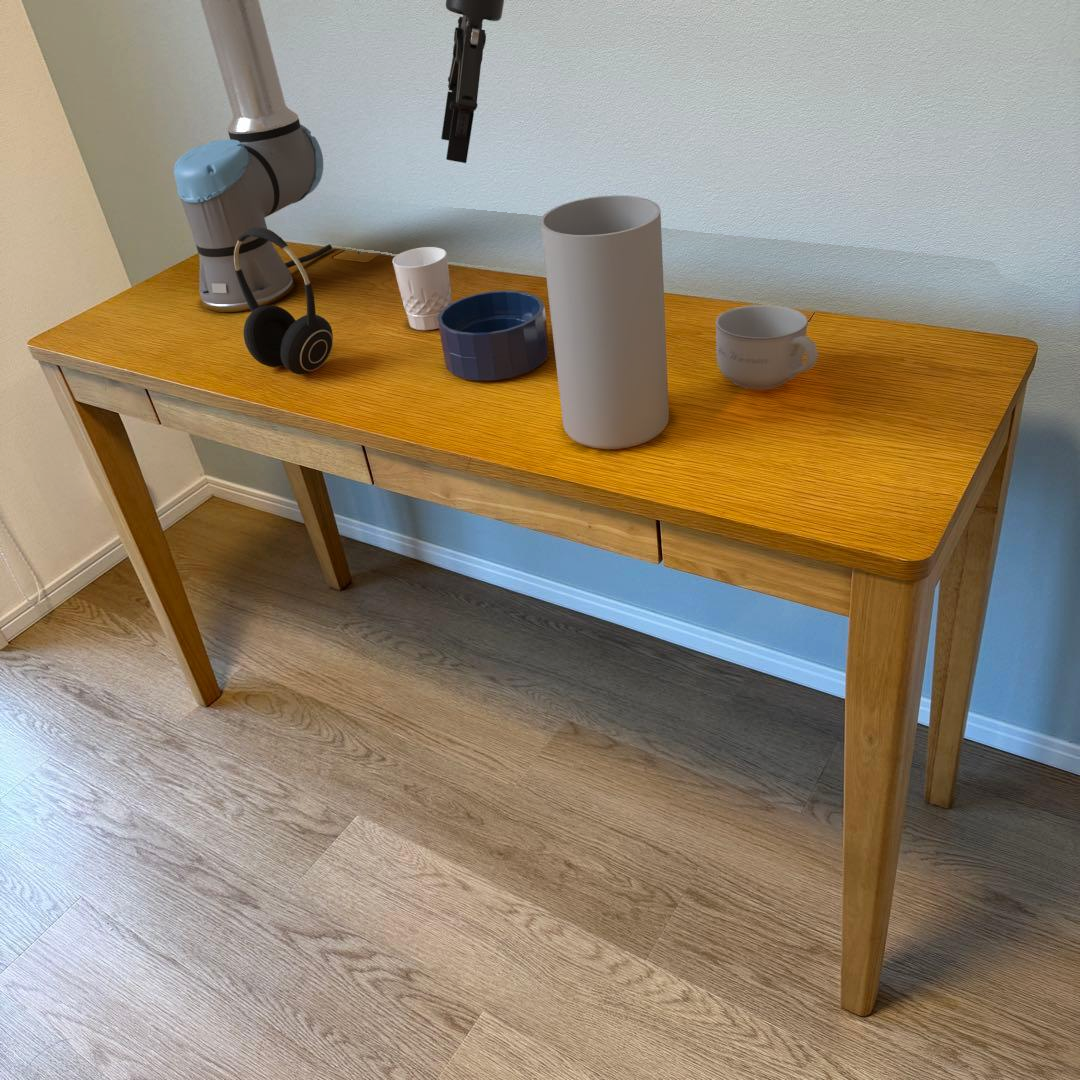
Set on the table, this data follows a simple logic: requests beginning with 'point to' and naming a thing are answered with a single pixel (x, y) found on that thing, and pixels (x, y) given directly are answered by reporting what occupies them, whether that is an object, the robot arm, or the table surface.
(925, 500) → the table surface
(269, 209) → the robot arm
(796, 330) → the teacup
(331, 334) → the headphones
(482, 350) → the navy blue bowl
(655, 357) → the cylinder vase
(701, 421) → the table surface
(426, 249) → the white cup
